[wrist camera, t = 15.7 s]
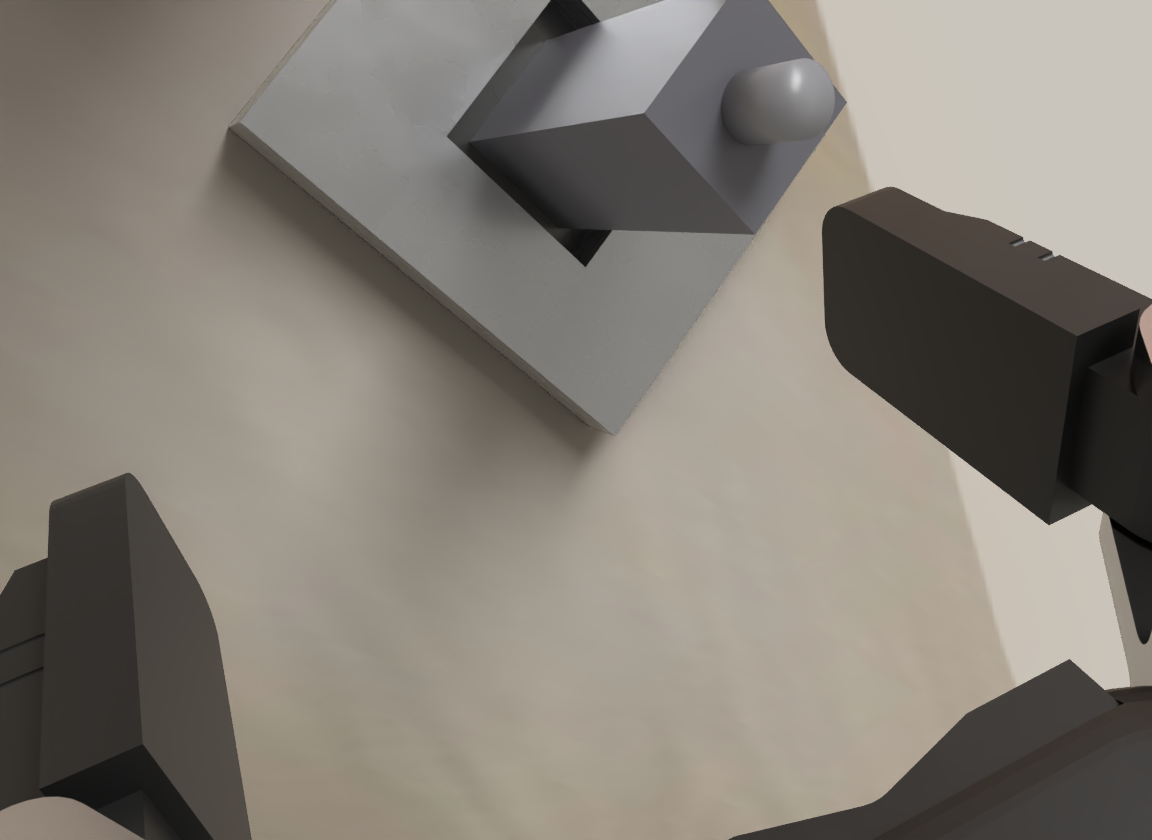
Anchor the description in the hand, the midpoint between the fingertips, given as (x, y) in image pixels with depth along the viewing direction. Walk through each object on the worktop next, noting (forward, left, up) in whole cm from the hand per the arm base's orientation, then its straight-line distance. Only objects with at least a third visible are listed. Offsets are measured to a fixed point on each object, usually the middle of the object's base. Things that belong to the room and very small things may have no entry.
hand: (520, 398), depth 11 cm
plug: (+8, +9, -22) cm, 25 cm away
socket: (+8, +9, -22) cm, 25 cm away
